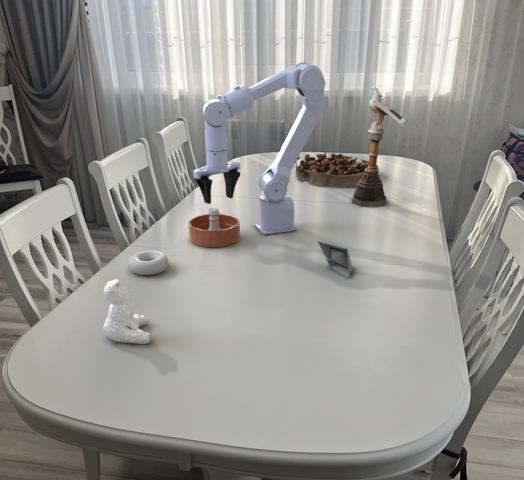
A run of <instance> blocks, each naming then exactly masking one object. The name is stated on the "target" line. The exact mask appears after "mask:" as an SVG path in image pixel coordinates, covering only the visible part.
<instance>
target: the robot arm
mask: <svg viewBox="0 0 524 480" xmlns="http://www.w3.org/2000/svg"><path fill="white" fill-rule="evenodd" d="M326 84H327V83H326V79H325V77H324V73H323V71H322V69H320V68H319V67H318V66H316V65H315V64H314V65H311V64H310V63H307V62H298V63H297V64H295V65H291V66H288V67H286V68H284V69H282V70H280V71H278V72H276V73H274V74H273V75H270V76H269V77H267V78H265V79H263V80H261V81H259V82H258V83H256V84H254V85H252V86H250V87H248V86H246V85H243V84H242V85H239V84H237V85H233V89H232V90H230V91H228V92H226V93H224V94H222V95H221V94H218V95H216V98H215V99H214V98H211V99H208V100H207V101H206V102H204V103H205V104H204V105H203V107H202V111H201V113H202V117H203V118H204V119H205V120H204V139H205V140H204V144H205V161H206V162H205V163H206V165H205V166H202V167H200V168H196V169H193V170H192V175H193V176H192V177H193V178H194V181H195V182H196V184H197V186H198V188H199V190H200V193H201V195H202V198H203V203H205V204H208V205H210V204H212V185H213V181H214V180H213V179H211V178H210V177H209V176H215V175H221V174H222V175H223V178H224V184H225V196H226V198H228V199H233V198H234V193H235V191H236V190H235V189H236V187H237V183H238V181H239V178H240V177H241V169H242V167H241V162H240V161H232V162H231V161H230V162H229V161H228V156H229V155H228V135H227V134H228V132H227V130H226V129H227V127H226V123H227V121H228V119H232V118H234V117H236V116H238V115H241V114H242V113H244V112H247V111H248V110H251V109H252V108H253V107H254V104H255V102H256V101H257V100H259V99H261V98H264V97H267V96H268V95H271V94H273V93H275V92H278V91H280V90H282V89H289V90H296V91H297V92H298V94H299V98H300V101H301V104H302V108H301V109H300V111H299V113H298V115H297V117H296V119H295V121H294V123H293V125H292V127H291V129H290V131H289V133H288V135H287V137H286V139H285V141H284V142H283V144H282V146H281V148H280V151H279V152H278V154H277V156H276V158H275V160H274V161H273V162H272V163H270V165H269V167H268V168H267V170H266V171H264V172H263V173H262V174H261V175H260V177H259V180H258V186H259V188H260V190H261V191H262V192H261V195H260V196H259V223H256V224H255V227H256V228H257V229H258V230H259V231H260V232H261V233H262V234H263V235H272V234H280V233H288V232H294V231H295V230H296V229H295V204H294V200H293V199H292V197H290V196H287V194H288V185H289V183H290V181H291V176H292V170H293V168H294V166H295V165H296V163H295V162H296V161H297V162H298V160H297V159H298V157H300V155H301V153H302V151H303V149H304V147H305V146H306V143H307V142H308V139H309V138H310V136H311V134H312V132H313V130H314V128H315V127H316V125H317V123H318V121H319V119H320V117H321V115H322V113H323V111H324V108H325V87H326Z"/></svg>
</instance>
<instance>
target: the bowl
mask: <svg viewBox="0 0 524 480" xmlns="http://www.w3.org/2000/svg"><path fill="white" fill-rule="evenodd" d="M209 217H210V215H209V214H208V213H207V214H206V213H205V214H201V215H197V216H194V217H192V218H190V219H189V220H188V226H187V227H188V236H189V237H188V239H189V241H190V242H191V243H192V244H194V245H197V246H200V247H206V248H222V247H227V246H230V245H233V244H235V243H237V242H238V241H240V239H241V220H240V219H239V218H238V217H237V216H235V215H232V214H226V213H219V215H218V217H219V226H220V228H221V230H209V226H210V219H209Z"/></svg>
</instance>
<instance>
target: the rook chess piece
mask: <svg viewBox="0 0 524 480" xmlns="http://www.w3.org/2000/svg"><path fill="white" fill-rule="evenodd" d="M207 214H209V215H210V217H209V219H210V226H209V230H221V228H220V226H219V217H218V215H219V214H221V212H220V211H219V208H217V207H215V208H214V207H210V208H209V209H208V212H207Z"/></svg>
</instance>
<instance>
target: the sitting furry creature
mask: <svg viewBox="0 0 524 480" xmlns="http://www.w3.org/2000/svg"><path fill="white" fill-rule="evenodd" d="M103 288H104V289H103V295H104V296H105V299H106V300H107V301H108V302H109V303H110V304H109V307H108V313H107V317H106V318H105V319H104V320H105V321H104V324H103V326H102V330H103V334H104V336H106V338H108V339H109V340H110V341H113V342H114V343H123V344H124V343H125V344H137V345H139V344H140V345H147V344H149V343H150V338H151V337H150V336H151V335H150V333H149V332H147V331H144V330H143V329H140V327H143V326H145V325H147V318H146V316H145V315H140V314H134V313H133V311H132V307H131V306H130V304H129V300H130V295H129V293H128V291H127V288H126V287H125V286H122V284H121V282H120V280H118V278H116V279H112V280H108V281H107V282H106V284H105V285H104V286H103Z"/></svg>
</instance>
